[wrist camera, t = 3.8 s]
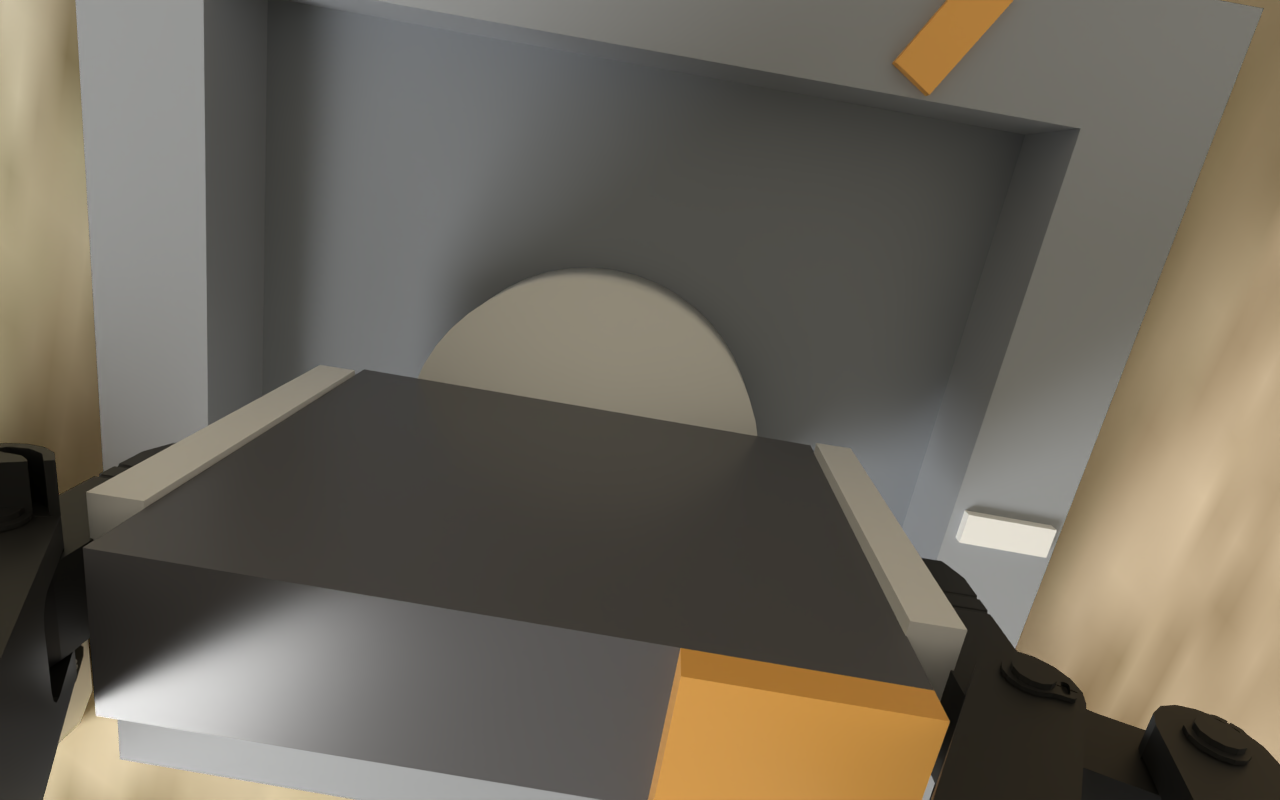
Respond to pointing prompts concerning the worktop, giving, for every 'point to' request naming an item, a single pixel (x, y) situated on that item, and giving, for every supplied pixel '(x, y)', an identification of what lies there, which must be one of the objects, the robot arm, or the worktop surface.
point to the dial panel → (657, 228)
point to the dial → (527, 575)
